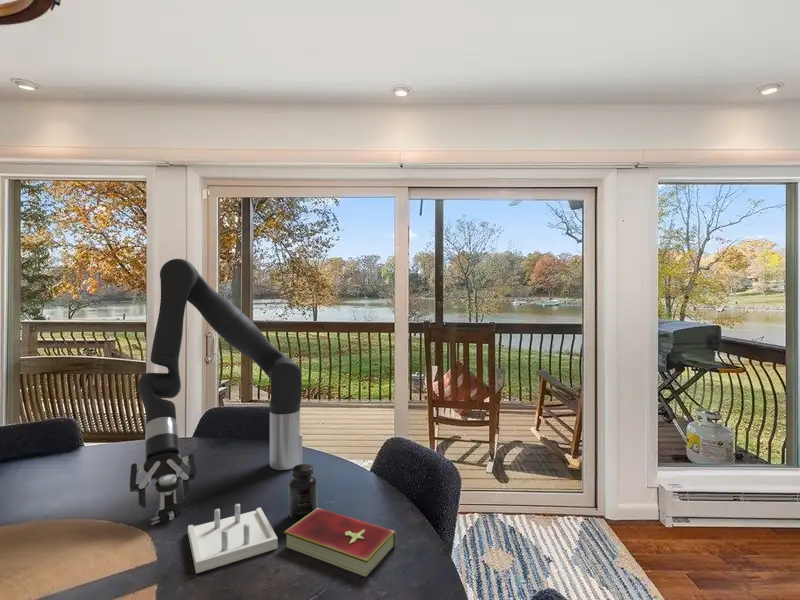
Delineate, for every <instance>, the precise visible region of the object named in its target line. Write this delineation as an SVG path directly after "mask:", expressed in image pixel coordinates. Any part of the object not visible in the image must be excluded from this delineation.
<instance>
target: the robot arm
mask: <svg viewBox="0 0 800 600" xmlns="http://www.w3.org/2000/svg"><path fill="white" fill-rule="evenodd" d="M159 279H160V301H159V302H160V303H159V304H160V305H159V309H158V317H157V322H156V327H155V332H154V335H153V336H154V337H153V342H152V347H151V352H150V353H151V354H150V362H151V364H154V365H156V366H161V367H164V368H166V369H167V370H168V371H167V373H166V372H146V373H144V374H143V375H141V377H139V380H138V382H137V392H138V395H139V397H140V400H141V403H142V404H143V407H144V412H145V427H146V428H145V434H144V436H145V437H144V438H145V439H144V443H145V461H144V463H142V464H141V463H140V464H137V463H135V462H134V463H131V465H130V475H129V492H130V493H134V492H137V493H138V505H139V507H141V508H142V509H144V508H146V506H147V503H146V501H147V500H146V497H147V495H146V490H147V488H148V487H149V485H151V483H152V482H153V481H154V480H156V481H158V480H159V479H160V477H162V476H165V475H169V474H174V475H176V477H178V478H180V482H181V490H182V500H186V499H187V497H188V496H189V495H190V482H191V481H194V480H196V478H197V468H196V463H195V455H194V454H193V453H189V454H188V455H187V456H183V457H182V456H181V453H180V441H179V440H180V438H179V428H178V424H177V413H176V412H177V411H176V410H177V409H176V405H175V403H174V402H173V401H171V400H168V399H173V398H175V397H176V396H178V395H179V393H180V391H181V389H182V384H181V383H182V382H181V377H180V367H179V366H180V365H179V361H180V360H179V358H180V353H181V347H182V342H183V341H182V340H183V332H184V331H183V330H184V319H185V317H184V316H185V310H186V306H187V302H189V303H190V305H192V306H194V308H195V309H196V310H197V311H198V312H199V313H200V315H201V316H202V318H203V319H204V320H205V321H206V322H207V323H208V325H209V326H210V327H211V328H212V329H213V330H214V331H215V332H216V333H217V334H218V335H219V336H220V337H221V338H222V339H223V340H224V341H226V342H227V343H228V344H229V345H230V346H231V347H233V348H234V349H235V350H237V351H239V352H240V353H241V354H243V355H245V356H246V357H248V358H249V359H250V360H252V361H253V362H254V363H255V364H256V365H257V366H258V367H259V368H260V369H261V370H262V372H264V374H266V376H267V377H268V379H269V380H270V402H269V467H270V468H271V469H273V470H275V471H276V470H277V471H287V470H293V467H295V466H297V465H300V464H303V434H302V433H301V403H302V389H303V388H302V387H303V382H302V381H303V379H302V378H303V376H302V375H303V374H302V370H301V367H300V366H299V365H298V364H297V363H296V362H295V361H294V360H293V359H291V358H290V357H288V356H287V355H286V354H284V353H283V352H282V351H280V350H279V349H277V348H276V347H275V346H274V345H273V344H272V343H271V342H270V341H269V340H268V338H267V337H266V336H265V335H264V334H263V333H262V331H261V330H260V329H259V328H258V326H257V325H256V324H255V323H254V322H253V321H252V320H251V319H250V318H249V317H248V316H247V315H246V314H245V313H244V312H242V311H241V310H240V308H238V307H237V306H235V305H234V303H232V302H231V301H229V300H228V299H227V298H225V297H224V296H223V295H221V294H220V293H219V292H218V291H216V290H215V289H214V288H213V287H212V286H211V285H210V284H209V283H208V281H206V279H205V278H204V277H203V276H202V275H201V274H200V273H199V271H198V269H196V268H195V266H194V265H193V263H191V262H190V261H188V260H185V259H182V258H173V259H170V260H168V261H166V262H165V263H164V264H163V265H162V266H161V268H160V270H159ZM182 463H184V465H185V466H188V470H189V473H188V474H187V473H186V472H185V471H184V470H183V468H181V467H180V466H181V465H182ZM141 471H145V473H146V474H145V476H144V477H143V479H142V481H140V483H137V475H140V474H141Z"/></svg>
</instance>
